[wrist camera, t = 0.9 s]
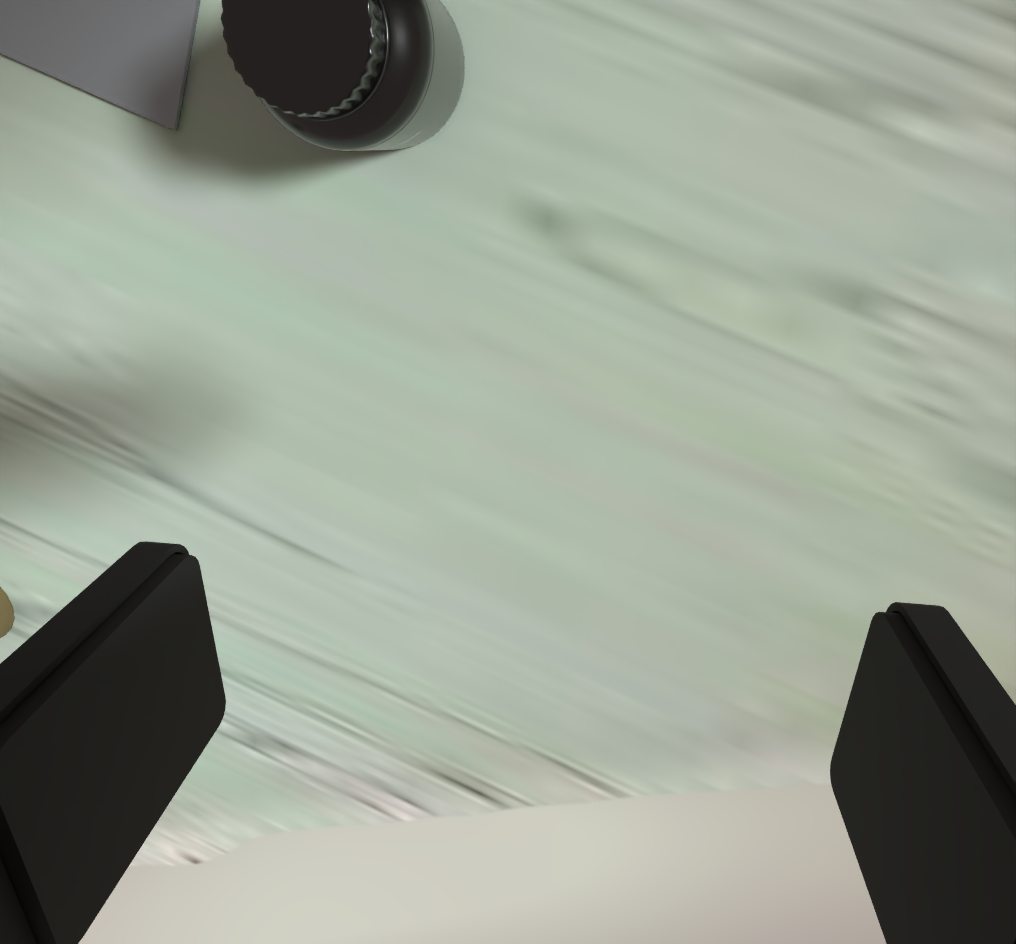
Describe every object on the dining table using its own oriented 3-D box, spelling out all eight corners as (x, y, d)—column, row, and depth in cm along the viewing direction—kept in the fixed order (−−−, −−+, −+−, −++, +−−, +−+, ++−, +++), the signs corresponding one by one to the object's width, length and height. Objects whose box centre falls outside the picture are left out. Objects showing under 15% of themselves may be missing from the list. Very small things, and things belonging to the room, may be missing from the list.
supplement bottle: (403, 182, 34) (314, 201, 24) (290, 71, 33) (140, 37, 22) (501, 61, 32) (452, 20, 21) (383, -66, 30) (265, -179, 20)
